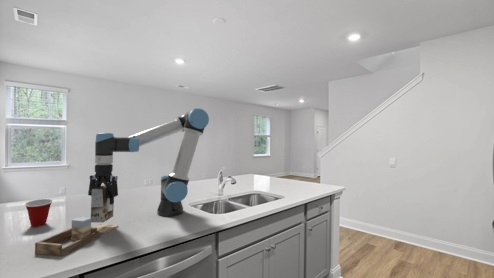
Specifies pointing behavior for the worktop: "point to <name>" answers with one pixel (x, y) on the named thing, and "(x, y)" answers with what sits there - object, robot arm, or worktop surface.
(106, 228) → the cork trivet
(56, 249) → the walnut rack
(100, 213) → the coffee box
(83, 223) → the offcut block top
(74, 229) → the offcut block middle
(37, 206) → the plastic cup
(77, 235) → the offcut block bottom
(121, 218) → the worktop surface
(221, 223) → the worktop surface
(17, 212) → the worktop surface
